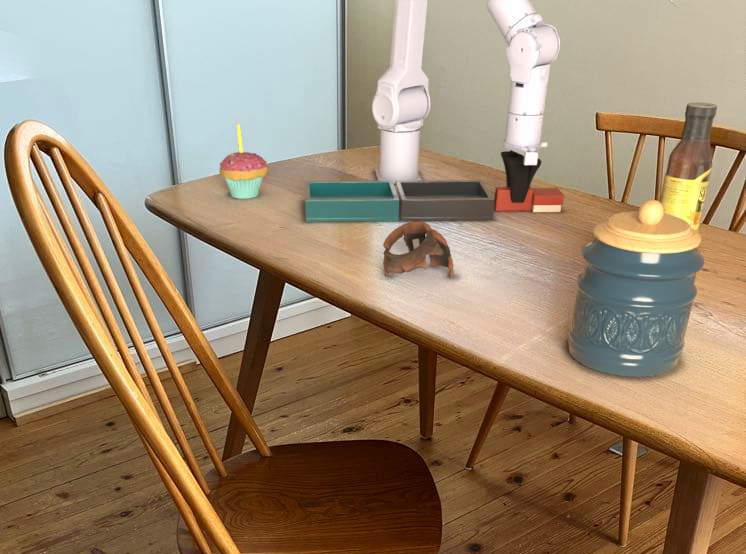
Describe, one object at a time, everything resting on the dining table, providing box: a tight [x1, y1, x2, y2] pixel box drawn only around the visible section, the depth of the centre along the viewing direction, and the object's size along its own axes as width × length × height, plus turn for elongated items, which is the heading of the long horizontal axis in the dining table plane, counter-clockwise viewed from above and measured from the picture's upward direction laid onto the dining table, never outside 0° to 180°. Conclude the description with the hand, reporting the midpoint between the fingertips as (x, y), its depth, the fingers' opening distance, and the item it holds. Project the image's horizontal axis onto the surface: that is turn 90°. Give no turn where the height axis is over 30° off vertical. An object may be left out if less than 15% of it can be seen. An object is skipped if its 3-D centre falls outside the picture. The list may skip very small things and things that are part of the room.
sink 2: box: [394, 179, 495, 222], centre depth 151 cm, size 12×15×3 cm
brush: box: [493, 186, 565, 213], centre depth 152 cm, size 5×11×3 cm, turn 92°
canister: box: [567, 199, 705, 378], centre depth 101 cm, size 13×13×18 cm
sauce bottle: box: [659, 102, 718, 233], centre depth 131 cm, size 7×6×20 cm
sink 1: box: [304, 180, 400, 223], centre depth 150 cm, size 12×15×3 cm
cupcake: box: [218, 119, 269, 200], centre depth 155 cm, size 9×8×12 cm
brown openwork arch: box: [382, 220, 455, 279], centre depth 126 cm, size 12×10×8 cm
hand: (515, 199), depth 152 cm, fingers closed on brush, 2 cm apart
